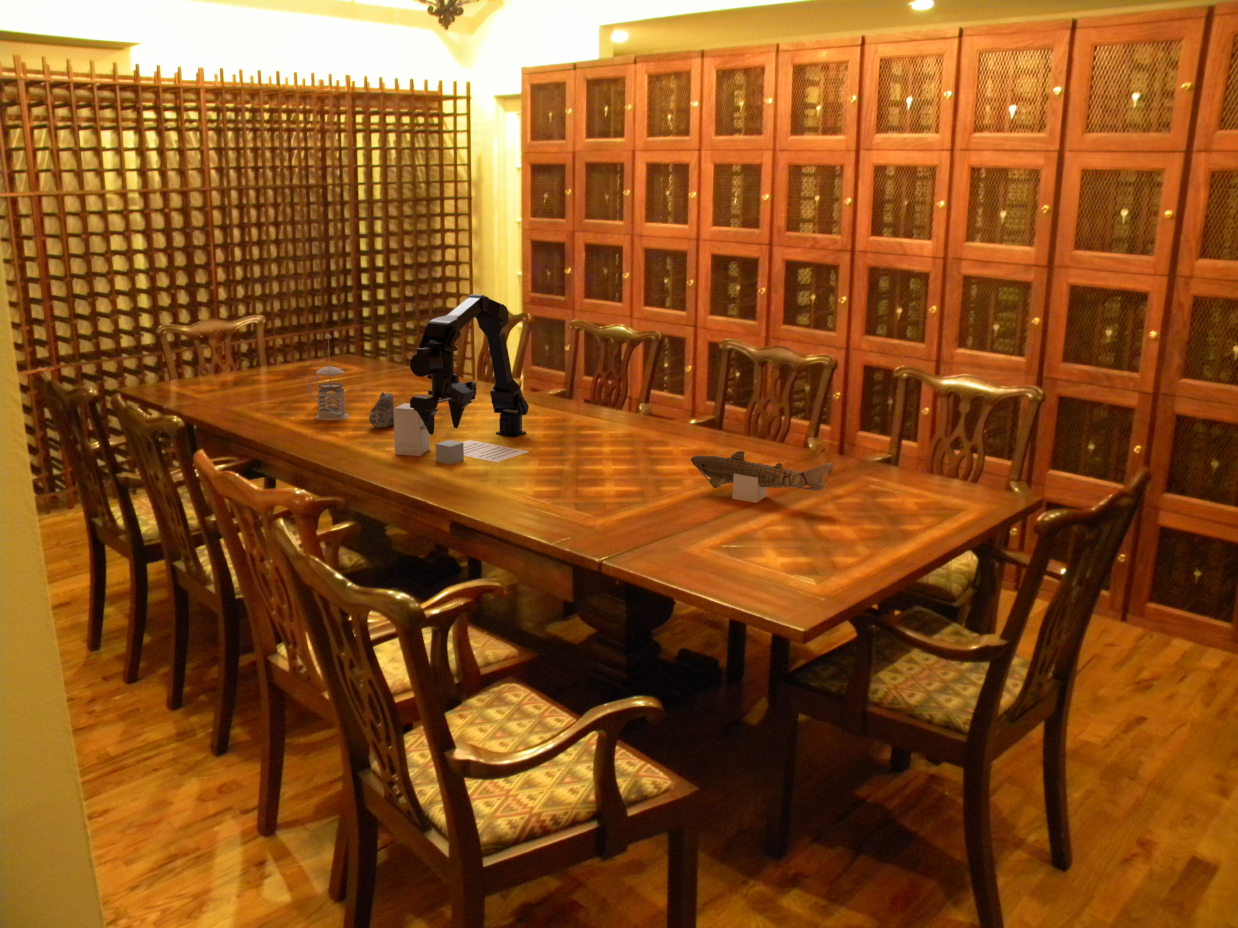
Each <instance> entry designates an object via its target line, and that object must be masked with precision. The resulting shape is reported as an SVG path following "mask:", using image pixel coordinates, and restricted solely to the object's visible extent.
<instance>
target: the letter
mask: <svg viewBox="0 0 1238 928" xmlns="http://www.w3.org/2000/svg"><path fill="white" fill-rule="evenodd" d="M462 443H464V457H468V458H473V459H478V460H481V461H482V460H483V461H488V462H492V463H499V462H502V461H505V460H508V459H511V458H514V457H517V456H521V455H524V454H527V453H529V452H530V451H529V450H525V449H523V450H522V449H518V448H515V447H514V448H513V447H509V446H504V445H498V444H493V443H487V442H483V441H476V440H471V439H467V440H465V441H462Z"/></svg>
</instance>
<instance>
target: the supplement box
mask: <svg viewBox="0 0 1238 928" xmlns="http://www.w3.org/2000/svg"><path fill="white" fill-rule="evenodd" d="M393 432H394V433H393V434H394V435H393V437H394V441H393V442H394V455H401V456H417V457H421V456H422V455H423V454H425V453H426V452H428V451H430V448H431V444H430V439H431V438H430V436H431V435H430V434H429V432H428V430H427V428H426V426H425V424H424V422H423V421H422V419H421V417H420V416H419V414H418V412H417V411H415V410H414V408H410V402H409V403H402V404H400V405H398V406H396V407H394V424H393Z"/></svg>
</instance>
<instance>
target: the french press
mask: <svg viewBox="0 0 1238 928" xmlns="http://www.w3.org/2000/svg"><path fill="white" fill-rule="evenodd" d="M324 339H327V349H328V352H330V342H329V340H331V339H332V335H331V334H325V335H324ZM330 357H331V356H330V355H328V366H324V367H322V368H320V369H318V370H317V371H315V374H316V375H315V376H313V377H312V378H310V379H309V381H308V383H307V393H308V395H309V396H310V398H311V399H313V400H314V401H315V402H317V411H318V412H317V413H318V414H316V415H315V419H316V420H320V421H339V420H340V421H341V420H346V419H347V418H349V414H348V413H346V403H345V402H346V401H345V399H346V398H345V389H343V388H342V387H343V386H344V384H343V383H339V382H332V381H331V380H332V379H331V378H332V377H333V376H340V375H341V376H342V375H343V374H344V372H345V371H344V370H343V369H341V368H339V367H336V366H331V363H330V362H331V360H330ZM319 376H328V377H329V382H327V383H325V382H324V383H320V384H318V385H317V386H318V388H319V389H318V390H317V397H315V396H314V394H313V392H312V389H311V383H312V381H313V380H314V379H316V382H319V380H320V378H319Z"/></svg>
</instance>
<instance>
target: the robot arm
mask: <svg viewBox="0 0 1238 928" xmlns="http://www.w3.org/2000/svg"><path fill="white" fill-rule="evenodd" d="M474 318H476V321H477V325H478V328H479V329H480V330H481V332H482V333H483V334H484V335H485V336H486V339H487V345H488V350H489V355H490V360H491V365H492V371H493V376H494V385H493V388H492V390H490V392H489V394H490V398H491V404H492V408H493V412H494V413H495V414H499V420H498V421H499V431H496V432H495V435H499V436H503V437H510V438H515V437H519V436H521V435H526V434H527V431H526V430H523V416H526V415H527V414H528V413H529V404H528V402H527V401H526V399H525V397H524V396H523V393H522V389H521V386H520V385H519V384H518V383H517V382H516V380H515V379H514V378H513V377H514V376H513V373H512V366H511V362H510V355H509V351H508V345H507V340H506V330H507V328H508V325H509V321H510V320H509V310H508V308H507V305H504V304H503V303H500V302H498V301H496V300H494V299H491V298H490V297H489V296H486V295H485V294H475V293H472V294H468V295H467V297H466V299H464V300H463V301H462V302H461V303H460V304H459V305H457V306H456V307H455V308H454V309H452V311H450V312H449V313H447V314H445V315H443V316H438V317H435V318H433V319H431V320H429V321H428V322H427V324H426V326H425V329H424V331H423V333H422V336H421V339H420V343H419V345H418V348H416V353H415V354H414V355H413V356H412V357H411V359H410V362H409V366H410V370H411V372H412V373H413V374H414V375H415V376H416V377H418V378H419V377H420V378H424V377H427V379H428V380H430V381H431V383H430V385H431V389H430V390H427V394H418V395H414V396H411V398H410V399H409V403H410V408H414V410H415V411H417V412H418V414H419V416H420V417H421V419H422V421H423V422H424V424H425V426H426V428H427V430H428V432H429V434H430V436H431V435H432V436H433V435H434V434H435V416H436V414H437V412H438V411H439V409H438V405H439V403H445V402H447V403H448V407H449V412H450V416H451V417H450V418H451V421H452V426H453V428H454V429H458V428H459V426H460V423H461V419H462V416H463V413H464V411H465V409H466V407H467V406H468V405H470V404H472V402H473V400H476V395H477V383H476V382H474V381H473V380H470V381H467V382H466V383H465V382H461V381H460V379H459V378H460V377H459V375H458V374H456V373H455V352H457V351H458V349H459V348H458V347H457V346H456V345H455V343H456V342H457V341H458V339H459V338H460V337H461V330H462V329H463V328H464V327H465V326H467V325H468V323H470V322H471V321H472V320H473V319H474Z"/></svg>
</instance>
